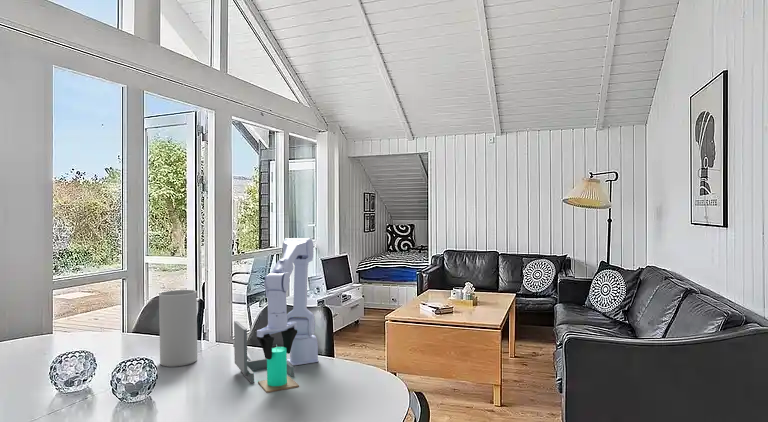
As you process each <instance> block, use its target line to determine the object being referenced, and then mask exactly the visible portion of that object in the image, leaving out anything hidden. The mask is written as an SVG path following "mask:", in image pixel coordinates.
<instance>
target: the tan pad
mask: <svg viewBox="0 0 768 422" xmlns="http://www.w3.org/2000/svg"><path fill="white" fill-rule="evenodd" d="M257 383H258V385H259V386H261V387H260V388H262V389H263V390H264V392H266V393H267V394H268V393H272V392H278V391H279V392H280V391H283V390H288V389H289V390H290V389H294V388H300V385H299V384H298V383H297V382H296V381H295V380H294V379H293V378H291V376H290V375H289V376H288V375H287V383H286V384H285V385H282V386H269V385H268V384H267V379H265V380H264V379H263V380H259V381H257Z"/></svg>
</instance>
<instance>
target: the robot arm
mask: <svg viewBox="0 0 768 422" xmlns="http://www.w3.org/2000/svg"><path fill="white" fill-rule="evenodd" d="M281 248H282V252H283V253H282V254H283V255H282V258H280V259H279V260H277V262H276V264H275V265H274V268H273V269H272V270H271V272H270V273H268V274H266V275H265V277H264V283H263V284H264V290H265V291H264V292H265V297H266V298H267V325H266V326H265V327H263V328H261V329H260V328H259V329H257V330H256V338H257V340H258V342H259V344H260V347H261V348H262V351H263V353H264V359H271V358H272V348H273V345H274V344H273V343H274V340H275V337H272V336H271V335H273V334H278V333H281V337H282V342H283V343H282V345H283V346H282V347H285V348H286V350H287V354H289V358H287V361H288V362H289V363H290V364H291V365H293V366H294V367H295V366H300V365H305V364H313V363H318V362H320V361H319V353H318V352H319V346H318V345H319V344H318V343H319V342H318V339H317V336H316V335H315V331H316V330H315V329H316V322H315V321H316V320H315V315H314V313H313V311H311V310H309V309H308V308H307V307H308V271H309V263H310V262H312V261H313V259H314V242H313V239H312V238H311V237H308V238H306V237H305V238H303V237H302V238H300V237H299V238H298V237H297V238H295V237H293V238H288V237H285V238H284V240H283V241H282V247H281ZM293 271H294V272H293ZM292 273H294V275H293V277H294V278H293V302H292V303H293V304H292V305H293V308H292V310H290V311H288V312H287V309H288V308H287V307H288V306H287V292H288V290H289V287H290V279H291V278H290V277H291V274H292Z"/></svg>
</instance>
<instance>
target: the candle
mask: <svg viewBox="0 0 768 422" xmlns="http://www.w3.org/2000/svg"><path fill="white" fill-rule="evenodd" d="M275 346H276V347H272V358H271V359H267V368H266V380H267V384H268V385H269V386H282V385H285V384H286V383H287V376H288V373H287V359H288V357H287V356H288V355H287V354H288V353H287V350H286V348H285V347H283V346H278V345H277V344H275Z"/></svg>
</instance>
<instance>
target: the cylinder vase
mask: <svg viewBox="0 0 768 422" xmlns="http://www.w3.org/2000/svg"><path fill="white" fill-rule="evenodd" d="M197 293H198V292H197V290H194V289H177V290H175V289H174V290H168V291H167V290H166V291H162V292H159V294H158V310H159V311H158V312H159V315H158V317H159V318H158V319H159V321H158V322H159V325H158V326H159V363H160V365H162V366H163V367H169V368H171V367H175V368H176V367H184V366H188V365H191V364H194V363H195V362H196V361H197V360H198V311H197V310H198V308H197V307H198V305H197V304H198V303H197V300H198V299H197V298H198V296H197V295H198V294H197Z"/></svg>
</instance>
